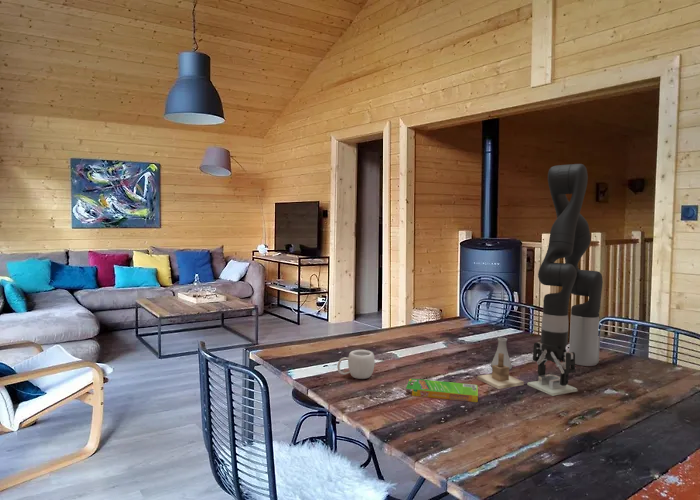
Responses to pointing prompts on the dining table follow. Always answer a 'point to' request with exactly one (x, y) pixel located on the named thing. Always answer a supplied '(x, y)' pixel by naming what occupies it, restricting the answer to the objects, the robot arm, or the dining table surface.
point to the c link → (550, 381)
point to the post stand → (500, 376)
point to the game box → (443, 390)
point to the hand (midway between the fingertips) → (552, 380)
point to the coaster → (549, 391)
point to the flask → (502, 349)
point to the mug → (359, 364)
